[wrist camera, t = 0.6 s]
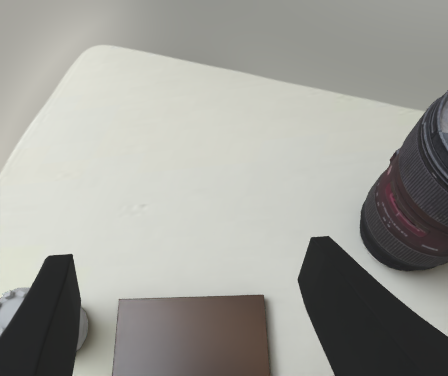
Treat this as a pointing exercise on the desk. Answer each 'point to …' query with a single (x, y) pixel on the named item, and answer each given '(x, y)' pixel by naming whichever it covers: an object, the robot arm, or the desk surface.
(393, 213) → the camera lens
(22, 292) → the rook chess piece
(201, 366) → the walnut board
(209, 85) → the desk surface
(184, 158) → the desk surface
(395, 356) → the robot arm
